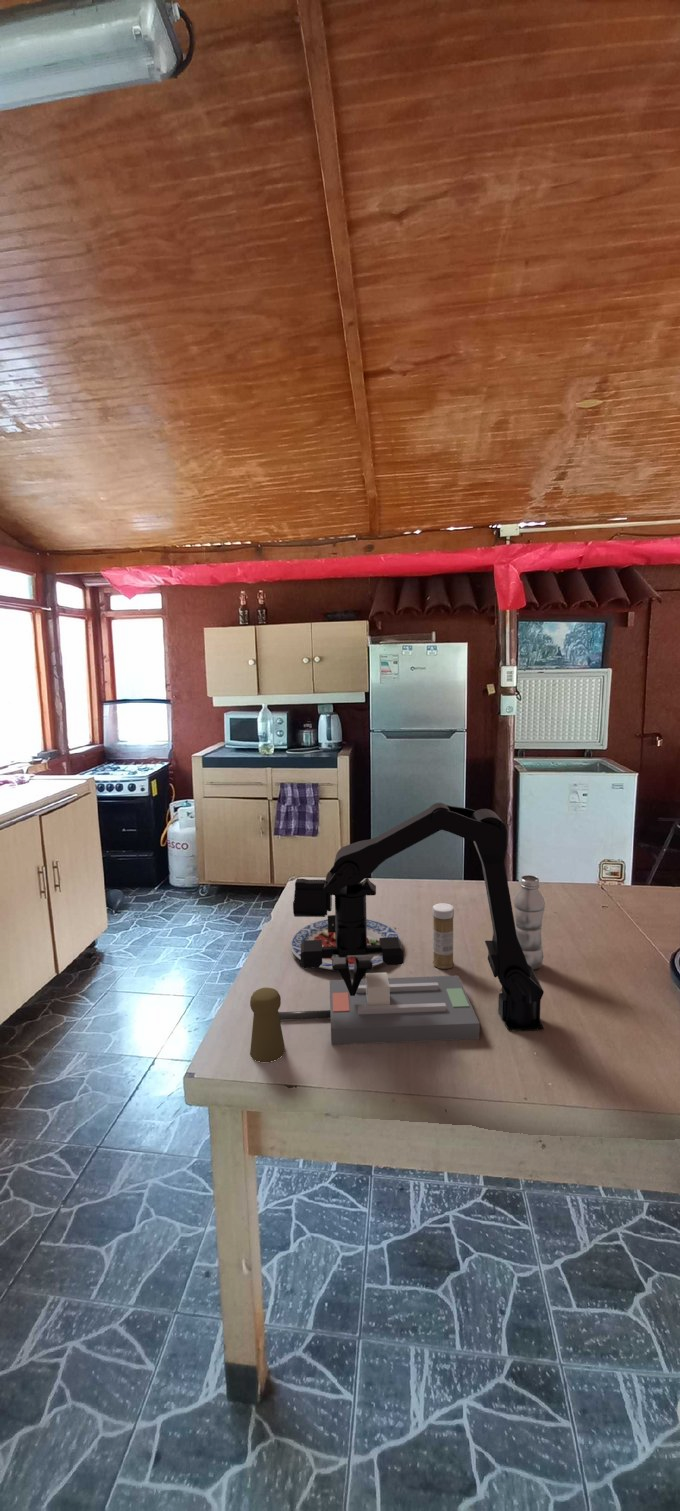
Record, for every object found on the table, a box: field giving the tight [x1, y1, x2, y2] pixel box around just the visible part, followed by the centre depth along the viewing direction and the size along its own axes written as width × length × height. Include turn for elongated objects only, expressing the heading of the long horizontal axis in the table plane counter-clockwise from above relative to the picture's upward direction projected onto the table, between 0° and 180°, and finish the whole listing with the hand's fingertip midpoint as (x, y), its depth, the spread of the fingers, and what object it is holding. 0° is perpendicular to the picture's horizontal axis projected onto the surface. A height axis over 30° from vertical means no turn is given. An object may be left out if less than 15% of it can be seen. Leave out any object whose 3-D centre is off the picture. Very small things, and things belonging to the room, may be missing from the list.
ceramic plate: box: [289, 918, 402, 971], centre depth 137 cm, size 26×26×3 cm
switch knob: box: [365, 972, 390, 1006], centre depth 110 cm, size 4×5×4 cm
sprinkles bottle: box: [432, 902, 455, 970], centre depth 128 cm, size 5×5×14 cm
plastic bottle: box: [513, 874, 546, 971], centre depth 126 cm, size 6×7×20 cm
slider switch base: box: [278, 975, 480, 1046], centre depth 110 cm, size 36×16×4 cm, turn 92°
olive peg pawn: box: [249, 987, 286, 1063], centre depth 100 cm, size 6×6×11 cm
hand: (352, 994), depth 110 cm, fingers closed
